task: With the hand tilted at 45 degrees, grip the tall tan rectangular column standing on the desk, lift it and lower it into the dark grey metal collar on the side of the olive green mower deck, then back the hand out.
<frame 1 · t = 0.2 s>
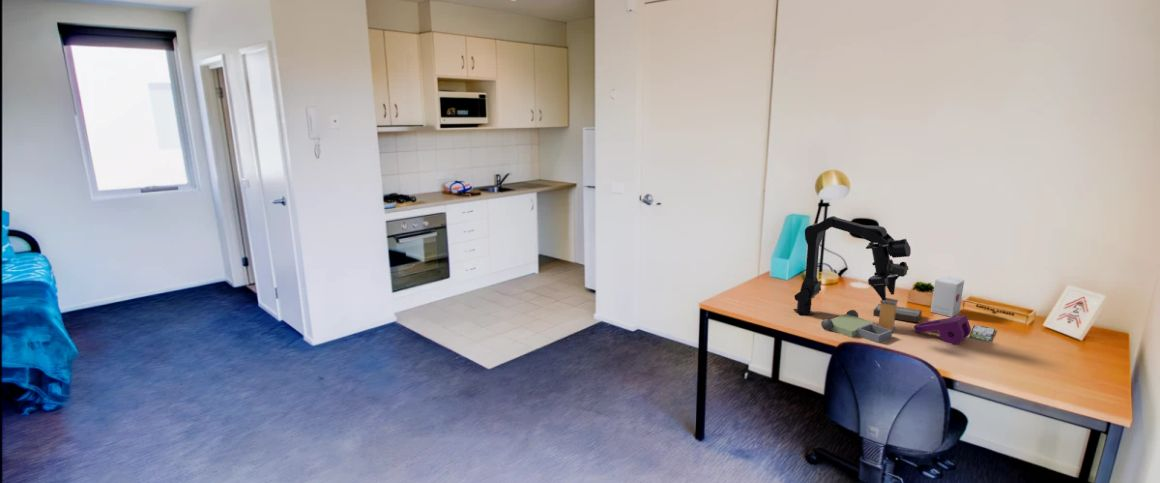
hand: (888, 297, 242), 15 cm above the table, tool tilted 15°, fingers open, 9 cm apart
mottled grey green block: (981, 335, 244), on the table
tan rectangular column: (885, 329, 250), on the table
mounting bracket: (938, 336, 243), on the table
supplement box: (944, 312, 267), on the table
mower deck: (873, 336, 243), on the table
box: (896, 317, 264), on the table
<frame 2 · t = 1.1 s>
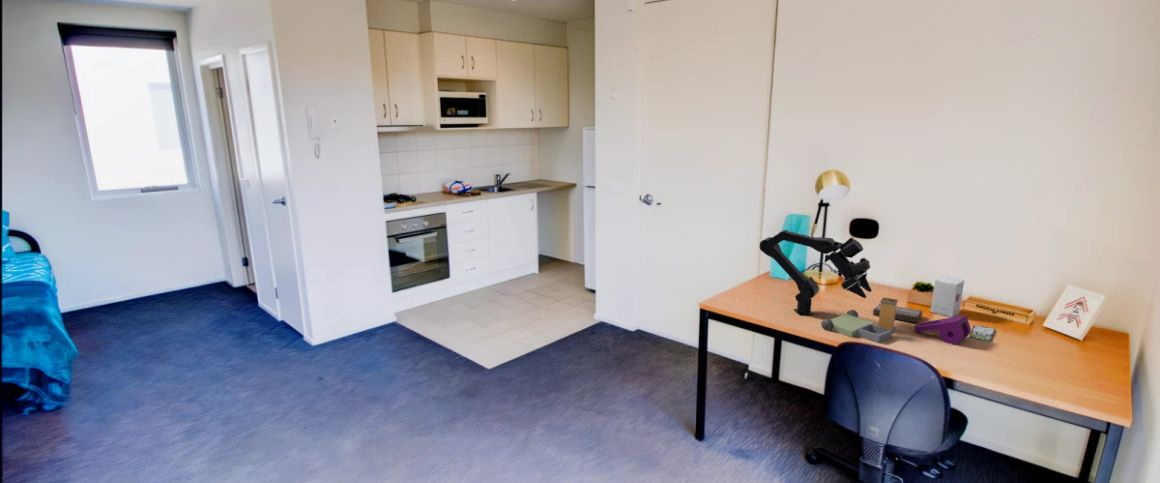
hand: (868, 294, 251), 13 cm above the table, tool tilted 45°, fingers open, 9 cm apart
nothing on the table moved.
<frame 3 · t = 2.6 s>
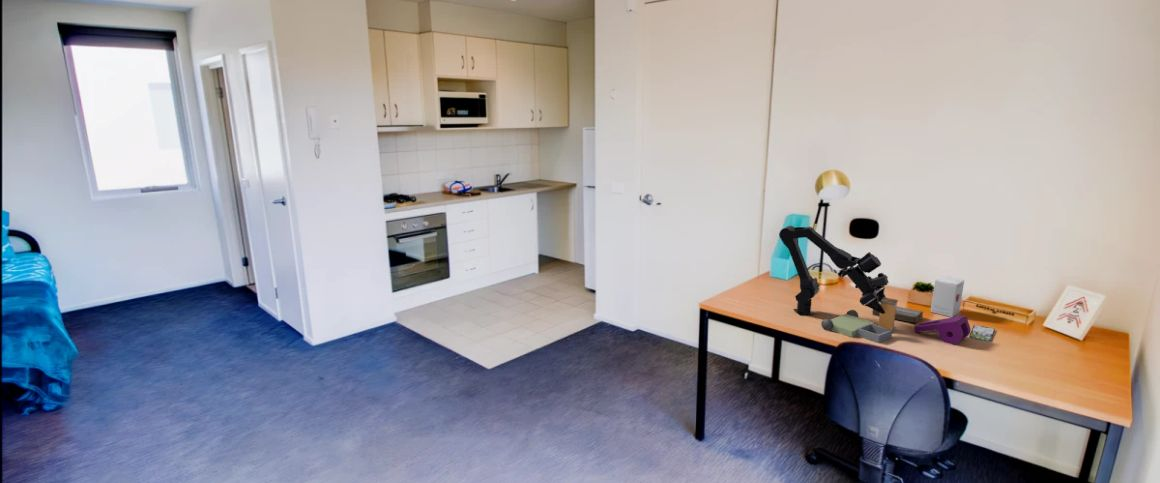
hand: (886, 310, 248), 8 cm above the table, tool tilted 45°, fingers open, 9 cm apart
nothing on the table moved.
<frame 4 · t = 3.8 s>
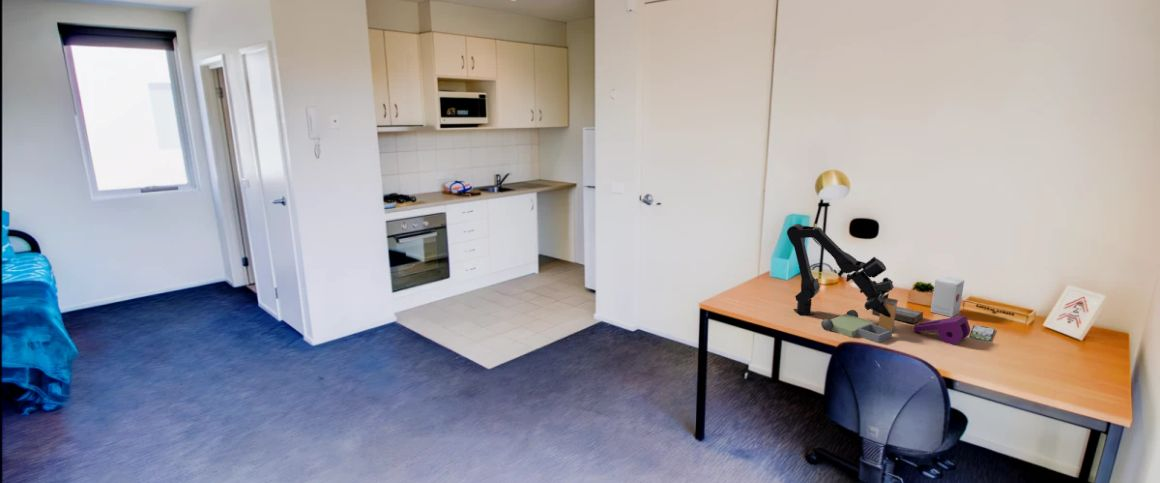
hand: (891, 314, 247), 7 cm above the table, tool tilted 45°, fingers closed on tan rectangular column, 5 cm apart
tan rectangular column: (885, 329, 250), on the table, touching gripper
everything else where it was.
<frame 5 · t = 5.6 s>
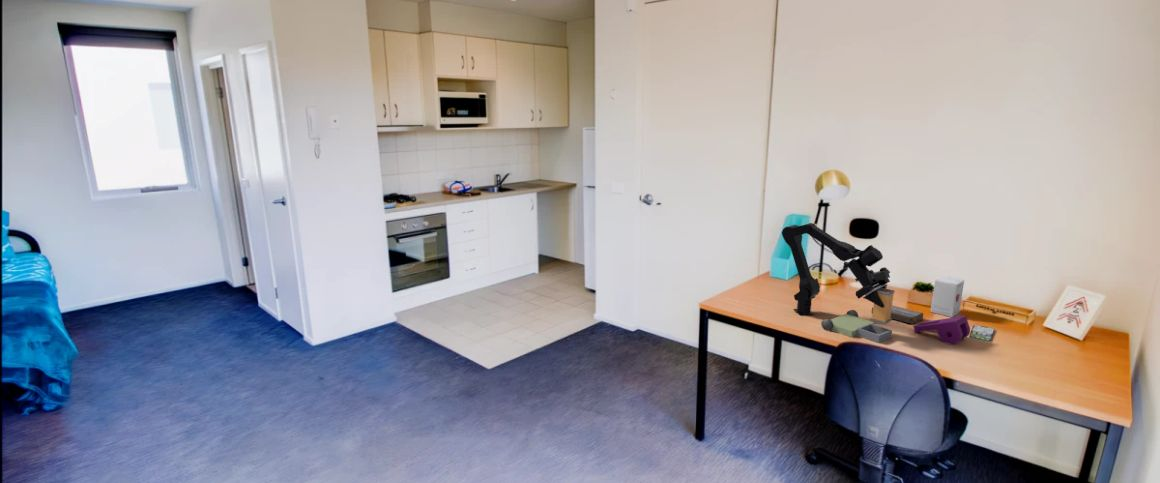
hand: (886, 305, 241), 12 cm above the table, tool tilted 45°, fingers closed on tan rectangular column, 5 cm apart
tan rectangular column: (880, 320, 243), point 6 cm above the table, touching gripper
when the fingers open (8 cm above the table, at t = 7.2 s): tan rectangular column drops 2 cm, resting in mower deck.
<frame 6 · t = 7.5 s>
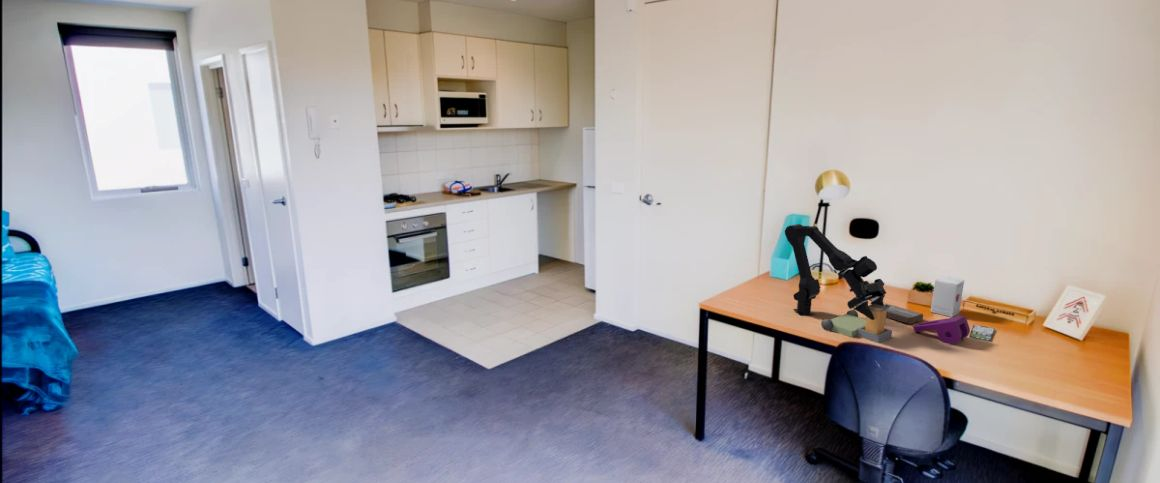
hand: (879, 317, 239), 9 cm above the table, tool tilted 45°, fingers open, 8 cm apart
tan rectangular column: (873, 336, 243), resting in mower deck
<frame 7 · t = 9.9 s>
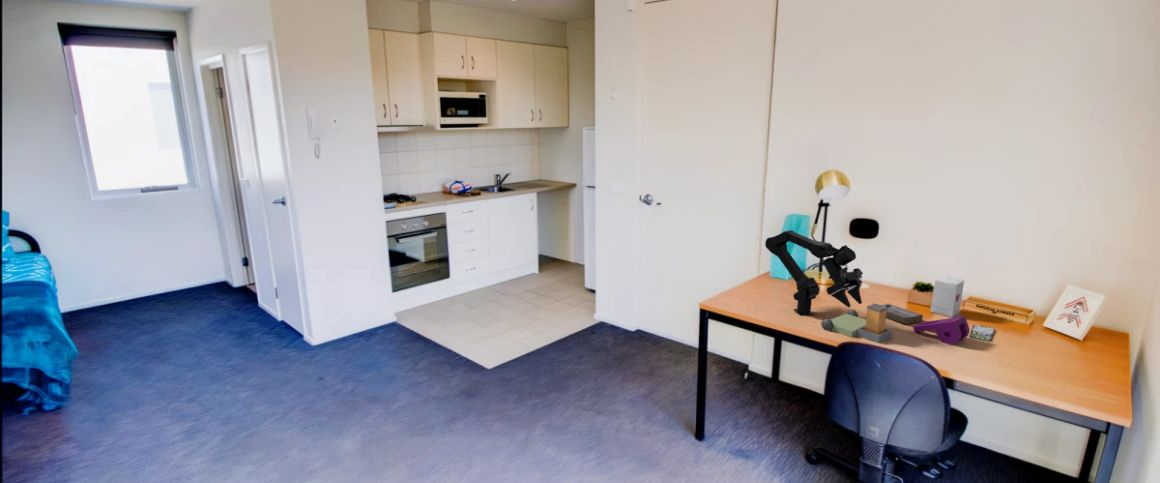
hand: (855, 305, 247), 11 cm above the table, tool tilted 40°, fingers open, 9 cm apart
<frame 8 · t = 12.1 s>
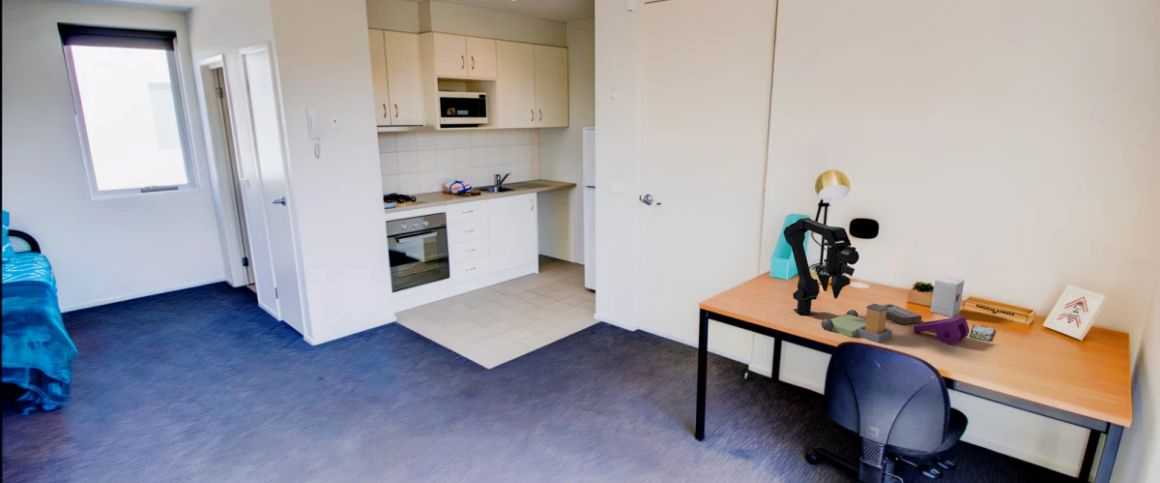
hand: (830, 294, 252), 13 cm above the table, tool pointing down, fingers open, 9 cm apart
at the end: tan rectangular column 0.0 cm off-centre on the mower deck, point 0.0 cm above the mower deck's base; tan rectangular column tilted 0°; the gripper is holding nothing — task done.
